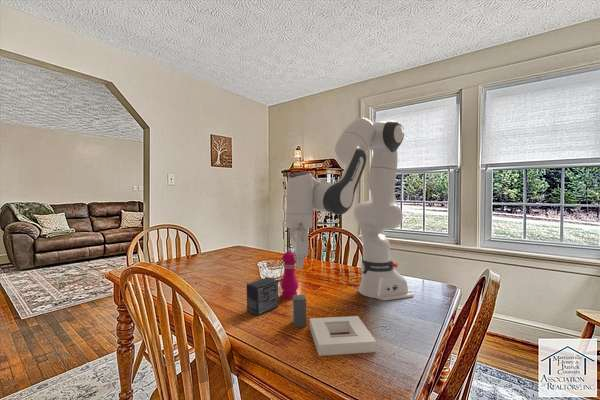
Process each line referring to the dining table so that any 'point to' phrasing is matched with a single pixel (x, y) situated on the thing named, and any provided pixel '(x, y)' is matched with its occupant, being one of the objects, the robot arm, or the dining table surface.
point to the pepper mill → (289, 276)
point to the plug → (299, 310)
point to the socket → (341, 336)
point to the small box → (262, 296)
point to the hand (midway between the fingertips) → (298, 263)
